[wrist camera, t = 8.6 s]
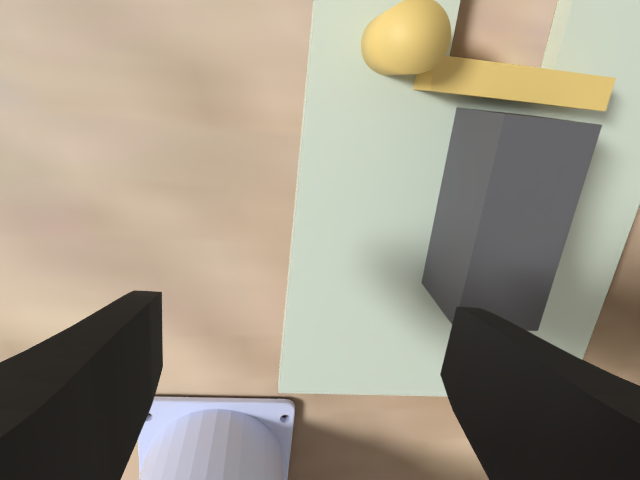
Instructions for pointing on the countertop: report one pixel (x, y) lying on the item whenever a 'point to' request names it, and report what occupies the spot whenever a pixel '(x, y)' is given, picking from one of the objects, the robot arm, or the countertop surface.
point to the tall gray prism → (505, 212)
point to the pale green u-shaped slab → (437, 182)
